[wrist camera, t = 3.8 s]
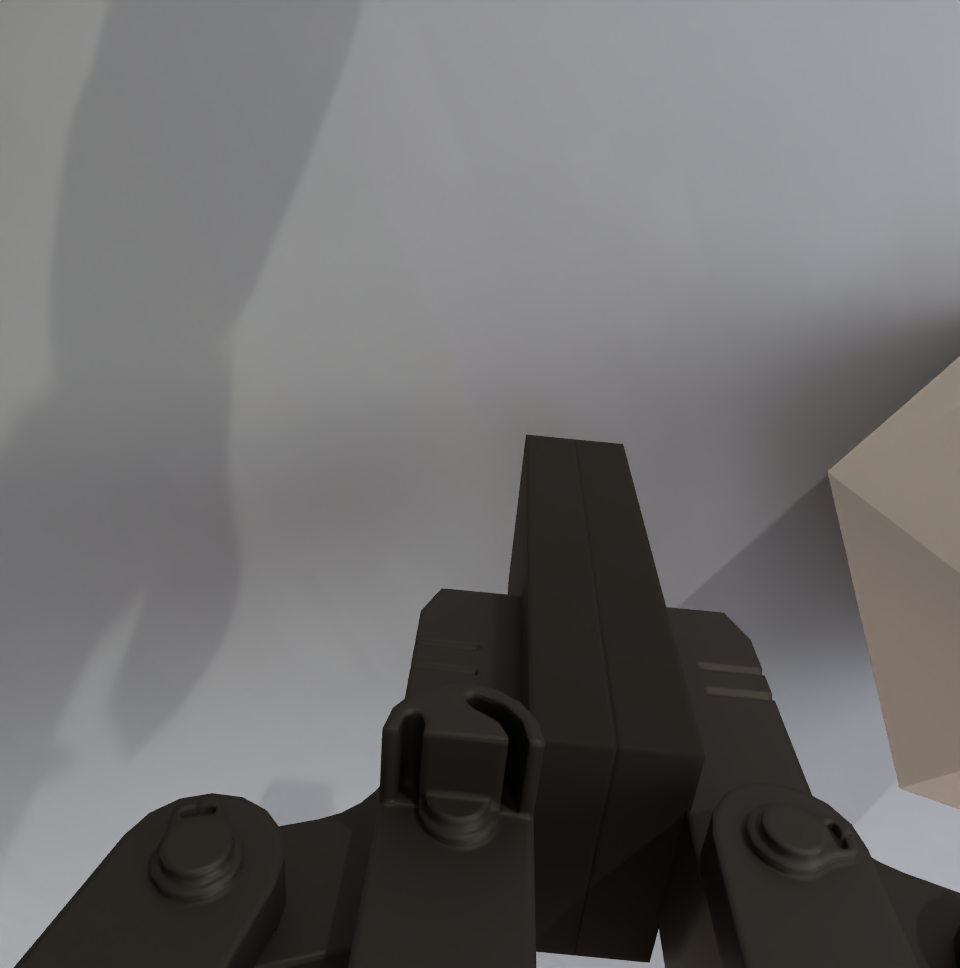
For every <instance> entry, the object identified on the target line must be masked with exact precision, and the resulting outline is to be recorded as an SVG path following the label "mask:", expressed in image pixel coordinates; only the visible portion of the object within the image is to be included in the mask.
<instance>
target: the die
mask: <svg viewBox="0 0 960 968" xmlns="http://www.w3.org/2000/svg"><path fill="white" fill-rule="evenodd" d="M827 472H828V477H829V481H830V486H831V490H832V494H833V499H834V503H835V507H836V512H837V516H838V521H839V525H840V529H841V534H842V538H843V542H844V547H845V551H846V556H847V560H848V564H849V569H850V573H851V577H852V582H853V586H854V591H855V595H856V599H857V604H858V608H859V612H860V617H861V621H862V626H863V630H864V634H865V639H866V643H867V647H868V652H869V656H870V661H871V665H872V669H873V674H874V678H875V682H876V687H877V691H878V696H879V700H880V704H881V709H882V713H883V717H884V722H885V726H886V731H887V735H888V739H889V744H890V748H891V752H892V757H893V761H894V766H895V770H896V774H897V779H898V783H899V787H900V789H903V790H906V791H909V792H912V793H915V794H918V795H920V796H923V797H926V798H929V799H932V800H935V801H938V802H940V803H943V804H946V805H949V806H952V807H955V808H958V809H960V356H959V357H958V358H957V359H956V360H955V361H954V362H953V363H951V364H950V365H949V366H948V367H947V368H946V369H945V370H943V371H942V372H941V373H940V374H939V375H938V376H936V377H935V378H934V379H933V380H932V381H931V382H930V383H928V384H927V385H926V386H925V387H924V388H923V389H922V390H920V391H919V392H918V393H917V394H916V395H915V396H914V397H912V398H911V399H910V400H909V401H908V402H907V403H905V404H904V405H903V406H902V407H901V408H900V409H899V410H897V411H896V412H895V413H894V414H893V415H892V416H891V417H889V418H888V419H887V420H886V421H885V422H884V423H883V424H881V425H880V426H879V427H878V428H877V429H876V430H874V431H873V432H872V433H871V434H870V435H869V436H868V437H866V438H865V439H864V440H863V441H862V442H861V443H860V444H858V445H857V446H856V447H855V448H854V449H853V450H852V451H850V452H849V453H848V454H847V455H846V456H845V457H843V458H842V459H841V460H840V461H839V462H838V463H837V464H835V465H834V466H833V467H832V468H831V469H830V470H829V471H827Z"/></svg>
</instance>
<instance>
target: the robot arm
mask: <svg viewBox="0 0 960 968" xmlns="http://www.w3.org/2000/svg"><path fill="white" fill-rule="evenodd" d="M658 929H659V931H660V938H661V944H662V950H663V957H664V963H665V968H960V893H958V892H956V891H953V890H950V889H947V888H944V887H942V886H939V885H936V884H933V883H930V882H928V881H925V880H922V879H919V878H916V877H914V876H911V875H908V874H905V873H903V872H900V871H898V870H896V869H894V868H891V867H889V866H887V865H885V864H882V863H880V862H878V861H877V860H875V859H873V858H872V857H871V856H870V853H869V851H868V849H867V847H866V846H865V844H864V843H863V841H862V840H861V838H860V837H859V835H858V834H857V832H856V831H855V829H854V828H853V826H852V825H851V824H850V823H849V822H848V821H847V820H846V819H844V818H843V817H842V816H841V815H840V814H839V813H837V812H836V811H835V810H834V809H833V808H832V807H831V806H829V805H828V804H827V803H825V802H823V801H821V800H819V799H817V798H815V797H813V796H812V794H811V791H810V789H809V786H808V784H807V781H806V779H805V776H804V774H803V771H802V769H801V766H800V764H799V761H798V759H797V756H796V753H795V751H794V748H793V746H792V743H791V741H790V738H789V736H788V733H787V731H786V728H785V726H784V723H783V721H782V718H781V716H780V713H779V711H778V708H777V705H776V703H775V701H772V693H771V690H770V688H769V685H768V683H767V680H766V678H765V676H764V675H762V668H761V665H760V662H759V660H758V657H757V655H756V652H755V650H754V647H753V645H752V642H751V640H750V639H749V638H748V637H747V636H746V635H745V634H744V633H743V632H742V631H741V630H740V629H739V628H738V627H737V626H736V625H735V624H734V623H733V622H732V621H731V620H730V619H729V618H728V617H727V616H726V614H725V613H719V612H709V611H699V610H689V609H678V608H668V607H666V605H665V601H664V597H663V593H662V590H661V586H660V582H659V578H658V574H657V571H656V567H655V563H654V559H653V556H652V552H651V548H650V544H649V540H648V537H647V533H646V529H645V525H644V521H643V518H642V514H641V510H640V506H639V503H638V499H637V495H636V491H635V487H634V484H633V480H632V476H631V472H630V468H629V465H628V461H627V457H626V453H625V450H624V446H623V444H616V443H606V442H595V441H585V440H575V439H564V438H554V437H544V436H533V435H526V440H525V448H524V457H523V465H522V473H521V482H520V490H519V498H518V507H517V515H516V524H515V532H514V540H513V549H512V557H511V565H510V574H509V582H508V595H505V594H495V593H484V592H474V591H464V590H453V589H443V588H442V589H441V590H440V591H439V592H438V593H437V594H436V595H435V596H434V597H433V599H432V600H431V601H430V602H429V603H428V604H427V605H426V606H425V607H424V608H423V609H422V610H421V614H420V619H419V625H418V630H417V635H416V643H415V646H414V652H413V657H412V663H411V669H410V673H409V679H408V684H407V690H406V695H405V699H404V700H403V701H401V702H400V703H399V704H397V705H396V706H395V707H394V708H393V709H392V711H391V713H390V715H389V717H388V719H387V721H386V723H385V725H384V727H383V732H382V754H381V776H380V786H379V788H378V789H377V790H376V791H375V792H374V793H373V794H371V795H370V796H369V797H368V798H366V799H365V800H364V801H363V802H362V803H360V804H358V805H356V806H354V807H352V808H350V809H348V810H346V811H344V812H342V813H339V814H336V815H332V816H329V817H325V818H322V819H318V820H313V821H307V822H301V823H296V824H290V825H285V826H279V827H278V825H277V824H276V823H275V821H274V820H273V819H272V817H271V816H270V814H269V813H268V812H267V810H265V809H263V808H261V807H260V806H258V805H256V804H254V803H252V802H250V801H248V800H246V799H245V798H243V797H236V796H229V795H221V794H213V793H211V794H205V795H199V796H193V797H187V798H182V799H178V800H176V801H174V802H172V803H170V804H168V805H166V806H163V807H161V808H159V809H157V810H155V811H153V812H151V813H149V814H148V815H147V816H146V817H144V818H143V819H142V820H141V821H140V822H139V823H137V824H136V825H135V826H134V827H133V828H132V829H131V830H130V831H128V832H127V833H126V834H125V835H124V836H123V837H122V838H121V840H120V841H119V842H118V843H117V844H116V846H115V847H114V848H113V849H112V850H111V852H110V853H109V854H108V855H107V856H106V858H105V859H104V860H103V861H102V862H101V864H100V865H99V866H98V867H97V868H96V870H95V871H94V872H93V873H92V874H91V876H90V877H89V878H88V879H87V880H86V882H85V883H84V884H83V885H82V886H81V888H80V889H79V890H78V891H77V892H76V894H75V895H74V896H73V897H72V898H71V900H70V901H69V902H68V903H67V904H66V906H65V907H64V908H63V909H62V910H61V912H60V913H59V914H58V915H57V916H56V918H55V919H54V920H53V921H52V922H51V924H50V925H49V926H48V927H47V928H46V930H45V931H44V932H43V933H42V934H41V936H40V937H39V938H38V939H37V940H36V942H35V943H34V944H33V945H32V946H31V948H30V949H29V950H28V951H27V952H26V954H25V955H24V956H23V957H22V958H21V960H20V961H19V962H18V963H17V964H16V966H15V967H14V968H536V952H546V953H557V954H567V955H577V956H587V957H598V958H608V959H618V960H628V961H639V962H650V958H651V955H652V951H653V947H654V944H655V940H656V936H657V933H658Z"/></svg>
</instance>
